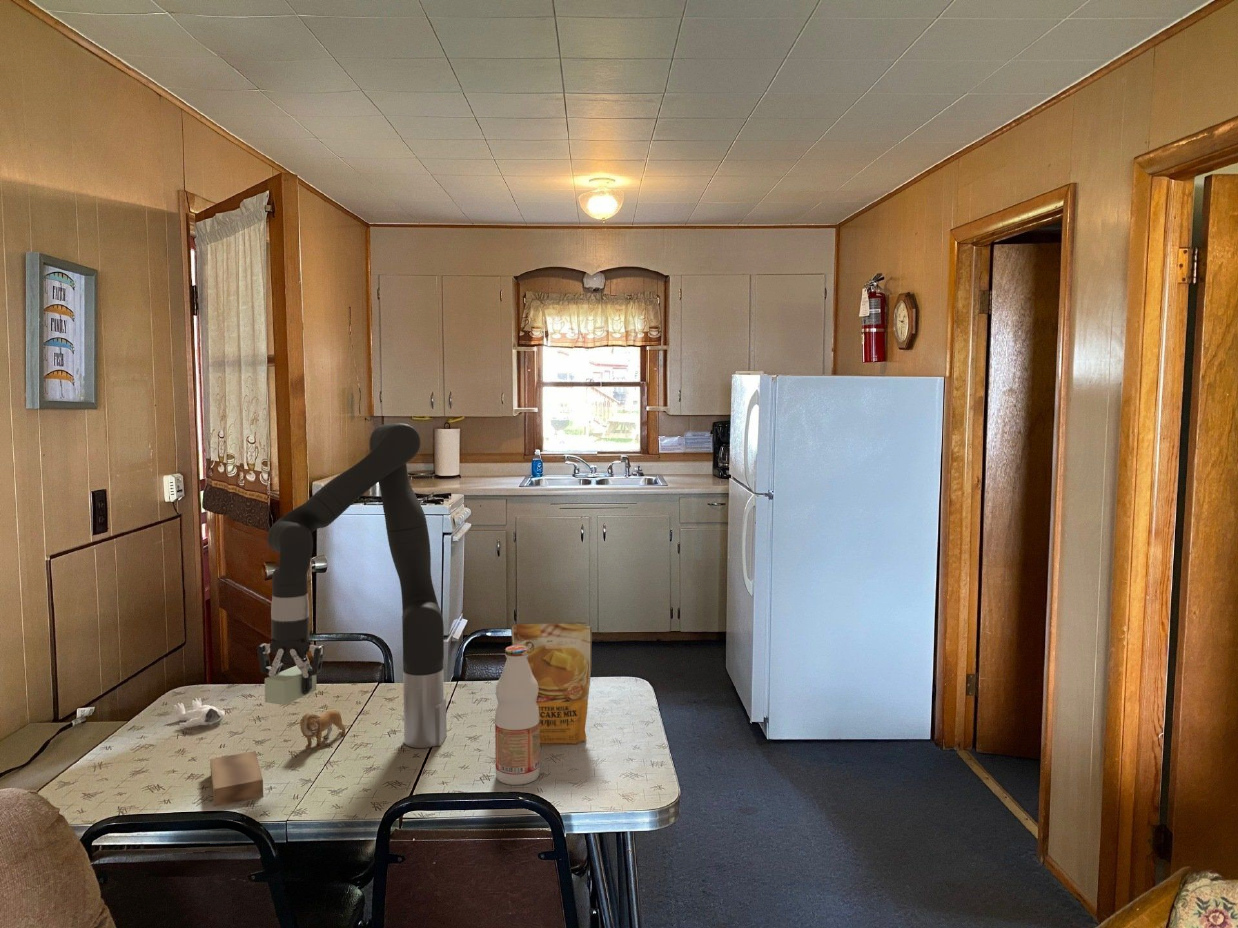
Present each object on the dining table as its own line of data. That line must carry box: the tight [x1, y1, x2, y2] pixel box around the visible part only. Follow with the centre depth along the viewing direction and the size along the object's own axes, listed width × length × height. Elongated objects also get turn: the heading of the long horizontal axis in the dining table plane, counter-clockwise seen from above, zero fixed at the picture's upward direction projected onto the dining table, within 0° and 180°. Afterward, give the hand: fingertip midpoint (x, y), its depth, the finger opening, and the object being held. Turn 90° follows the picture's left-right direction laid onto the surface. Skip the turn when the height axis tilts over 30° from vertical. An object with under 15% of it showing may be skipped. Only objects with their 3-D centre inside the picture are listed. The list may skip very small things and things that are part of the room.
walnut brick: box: [209, 750, 264, 807], centre depth 180 cm, size 9×16×4 cm, turn 28°
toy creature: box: [173, 697, 226, 730], centre depth 215 cm, size 12×6×12 cm
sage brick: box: [264, 664, 317, 706], centre depth 183 cm, size 5×10×5 cm, turn 161°
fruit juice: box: [494, 645, 541, 786], centre depth 184 cm, size 9×9×28 cm
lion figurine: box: [299, 709, 346, 750], centre depth 202 cm, size 15×5×9 cm, turn 165°
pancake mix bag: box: [510, 621, 593, 746], centre depth 203 cm, size 7×19×28 cm, turn 91°
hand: (291, 692), depth 184 cm, fingers closed on sage brick, 6 cm apart
